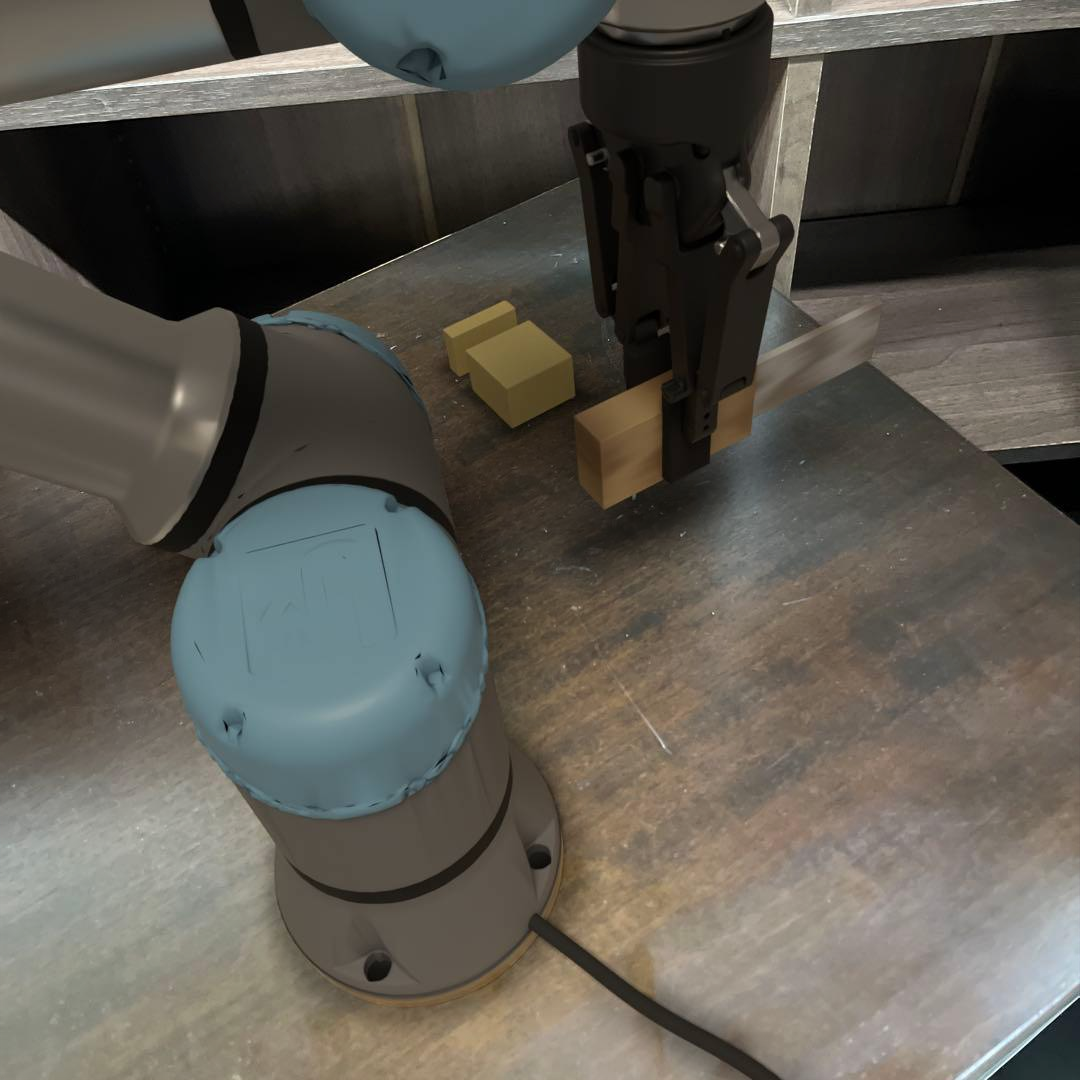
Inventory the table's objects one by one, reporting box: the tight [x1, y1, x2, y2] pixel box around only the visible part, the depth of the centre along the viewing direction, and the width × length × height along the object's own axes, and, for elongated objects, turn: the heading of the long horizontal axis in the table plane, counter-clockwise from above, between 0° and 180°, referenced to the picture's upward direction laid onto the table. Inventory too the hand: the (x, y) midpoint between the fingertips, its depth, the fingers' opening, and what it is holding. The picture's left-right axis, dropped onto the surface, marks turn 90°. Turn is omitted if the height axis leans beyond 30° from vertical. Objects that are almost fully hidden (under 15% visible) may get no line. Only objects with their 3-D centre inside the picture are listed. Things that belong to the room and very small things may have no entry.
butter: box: [466, 319, 576, 429], centre depth 77 cm, size 6×6×4 cm
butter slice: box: [442, 300, 518, 378], centre depth 81 cm, size 2×6×4 cm, turn 124°
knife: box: [573, 298, 884, 510], centre depth 55 cm, size 20×2×5 cm, turn 121°
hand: (668, 452), depth 55 cm, fingers closed on knife, 2 cm apart
